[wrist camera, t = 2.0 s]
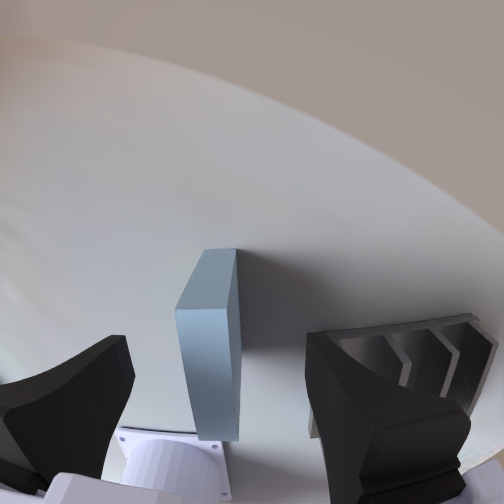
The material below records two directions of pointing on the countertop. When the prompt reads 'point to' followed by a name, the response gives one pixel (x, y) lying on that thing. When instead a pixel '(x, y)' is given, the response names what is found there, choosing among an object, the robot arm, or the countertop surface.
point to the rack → (424, 357)
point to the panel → (212, 344)
